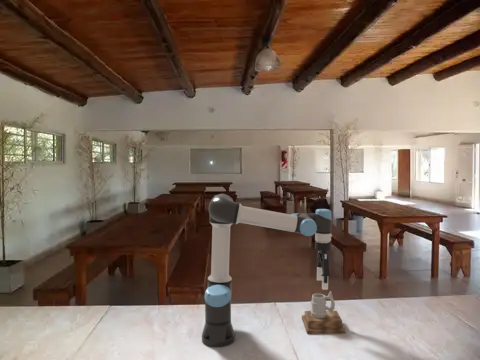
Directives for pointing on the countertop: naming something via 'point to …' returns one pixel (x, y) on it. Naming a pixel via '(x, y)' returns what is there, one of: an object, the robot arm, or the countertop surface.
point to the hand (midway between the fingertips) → (322, 284)
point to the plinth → (323, 324)
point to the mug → (321, 305)
